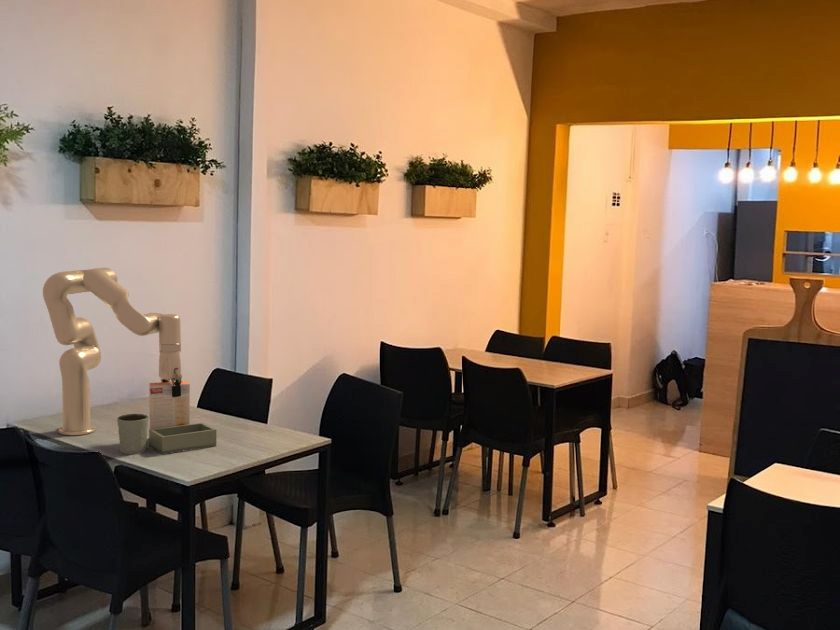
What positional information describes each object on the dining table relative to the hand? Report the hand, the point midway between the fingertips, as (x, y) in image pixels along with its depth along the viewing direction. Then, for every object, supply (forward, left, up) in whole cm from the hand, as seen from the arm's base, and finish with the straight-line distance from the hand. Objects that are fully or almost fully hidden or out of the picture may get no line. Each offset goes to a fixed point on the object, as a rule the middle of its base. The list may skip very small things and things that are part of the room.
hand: (171, 394), depth 309 cm
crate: (+12, 0, -17) cm, 20 cm away
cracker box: (0, 0, -17) cm, 17 cm away
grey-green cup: (+8, -17, -17) cm, 25 cm away
